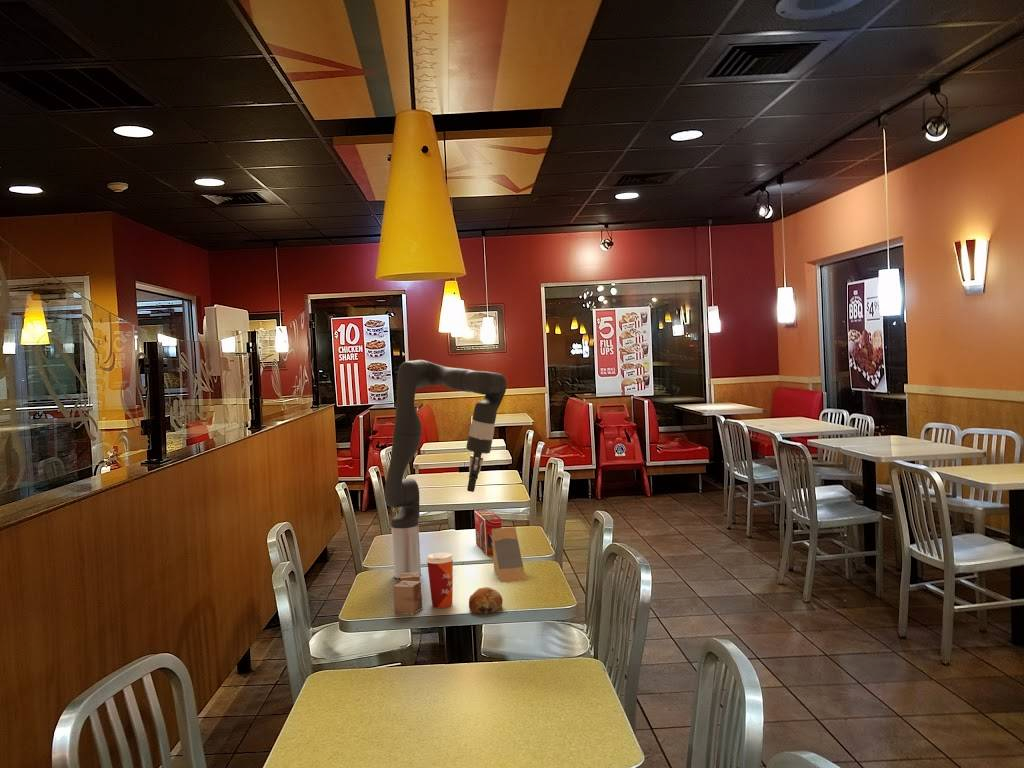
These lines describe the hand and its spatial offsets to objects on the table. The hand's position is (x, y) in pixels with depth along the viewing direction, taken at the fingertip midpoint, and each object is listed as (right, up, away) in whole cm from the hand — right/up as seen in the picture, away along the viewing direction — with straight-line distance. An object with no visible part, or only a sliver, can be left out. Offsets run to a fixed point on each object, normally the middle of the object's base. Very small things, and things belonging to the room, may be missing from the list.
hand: (470, 491), depth 253 cm
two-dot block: (-18, -33, -1) cm, 38 cm away
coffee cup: (-8, -33, -8) cm, 35 cm away
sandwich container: (+12, -32, +22) cm, 40 cm away
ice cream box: (+4, -31, +63) cm, 70 cm away
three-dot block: (-18, -34, -12) cm, 40 cm away
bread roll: (+5, -33, -14) cm, 36 cm away
